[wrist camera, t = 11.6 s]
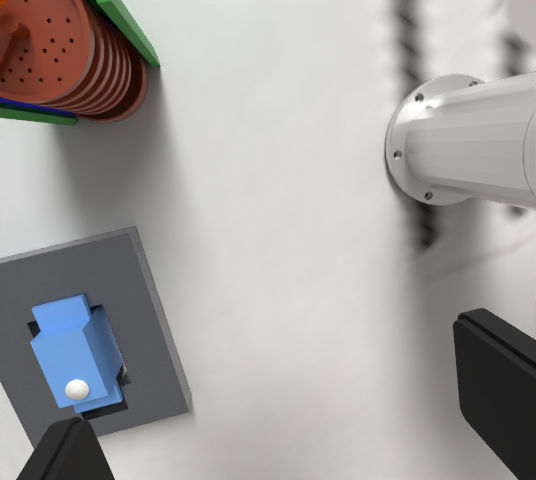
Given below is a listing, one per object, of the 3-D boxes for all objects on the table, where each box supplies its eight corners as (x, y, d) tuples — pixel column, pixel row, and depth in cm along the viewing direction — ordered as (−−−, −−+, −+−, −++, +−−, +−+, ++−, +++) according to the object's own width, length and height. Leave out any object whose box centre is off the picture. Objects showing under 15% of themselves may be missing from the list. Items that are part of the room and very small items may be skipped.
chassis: (135, 226, 35) (128, 232, 33) (191, 394, 41) (189, 411, 38) (-32, 266, 34) (-53, 275, 32) (48, 433, 40) (36, 453, 37)
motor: (103, 150, 33) (-57, 158, 14) (15, 77, 31) (-320, -32, 12) (175, 64, 32) (106, -55, 13) (89, -18, 30) (-148, -309, 11)
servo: (94, 283, 36) (71, 307, 31) (129, 379, 40) (115, 418, 34) (49, 293, 36) (17, 320, 31) (88, 390, 39) (66, 430, 34)
